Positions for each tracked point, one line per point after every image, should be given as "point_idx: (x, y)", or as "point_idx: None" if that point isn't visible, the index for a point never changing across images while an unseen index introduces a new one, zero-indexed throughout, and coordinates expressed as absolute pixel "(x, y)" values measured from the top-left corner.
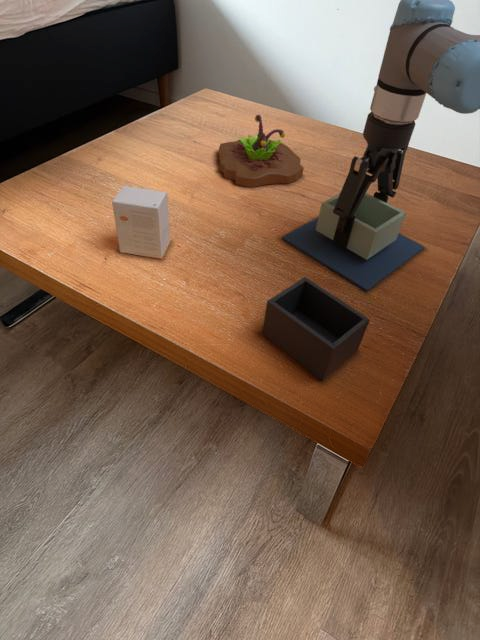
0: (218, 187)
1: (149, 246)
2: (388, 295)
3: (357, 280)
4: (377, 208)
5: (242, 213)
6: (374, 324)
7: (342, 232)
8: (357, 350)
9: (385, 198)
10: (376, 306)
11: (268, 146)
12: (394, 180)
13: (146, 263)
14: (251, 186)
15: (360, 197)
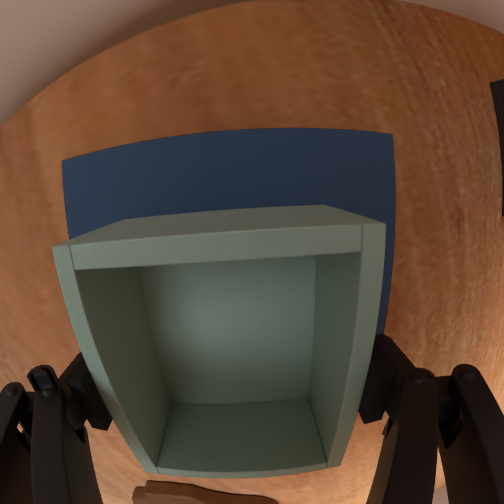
0: (305, 501)
1: None
2: (349, 85)
3: (385, 176)
4: (124, 366)
5: (340, 464)
6: (440, 76)
7: (386, 336)
8: (492, 82)
9: (83, 385)
10: (404, 91)
11: None
12: (14, 429)
13: (494, 395)
14: (261, 497)
15: (431, 459)
